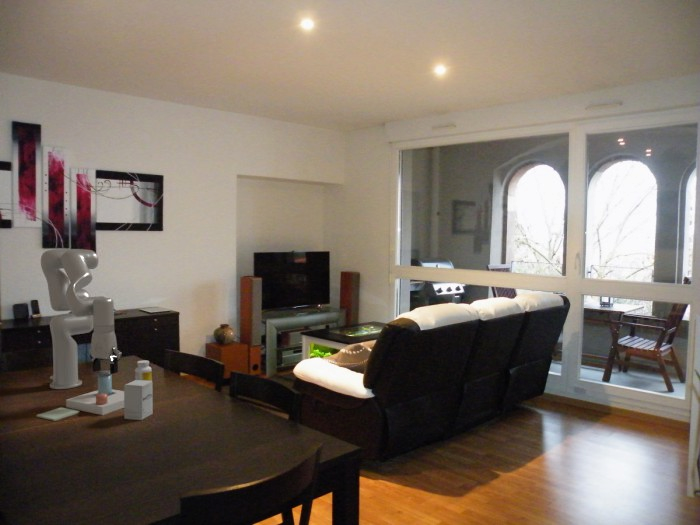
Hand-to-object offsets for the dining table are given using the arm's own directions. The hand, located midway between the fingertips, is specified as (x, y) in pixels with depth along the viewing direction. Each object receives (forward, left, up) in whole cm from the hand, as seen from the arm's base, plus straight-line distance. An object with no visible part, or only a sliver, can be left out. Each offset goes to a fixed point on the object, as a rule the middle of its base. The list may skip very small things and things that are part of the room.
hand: (105, 372), depth 217 cm
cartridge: (-1, 0, -12) cm, 12 cm away
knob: (+8, -9, -10) cm, 16 cm away
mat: (-3, -19, -12) cm, 23 cm away
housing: (+2, -3, -12) cm, 12 cm away
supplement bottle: (+2, +17, -12) cm, 21 cm away
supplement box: (+25, -7, -12) cm, 29 cm away
